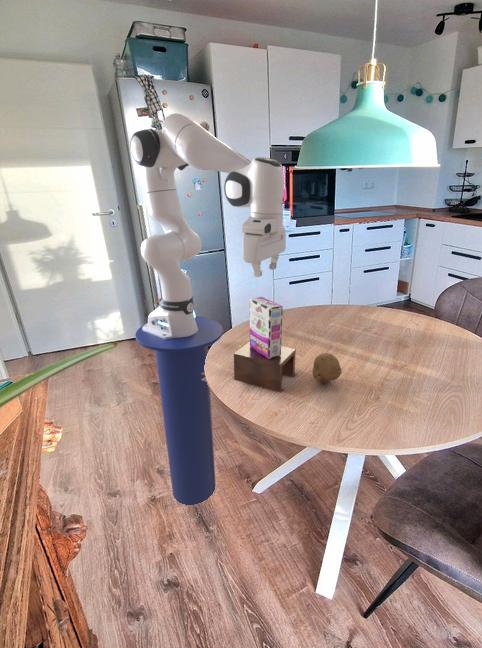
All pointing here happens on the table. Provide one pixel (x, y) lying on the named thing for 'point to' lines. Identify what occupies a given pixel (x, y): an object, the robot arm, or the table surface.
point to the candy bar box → (265, 327)
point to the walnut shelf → (263, 367)
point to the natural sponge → (326, 368)
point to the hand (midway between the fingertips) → (265, 272)
